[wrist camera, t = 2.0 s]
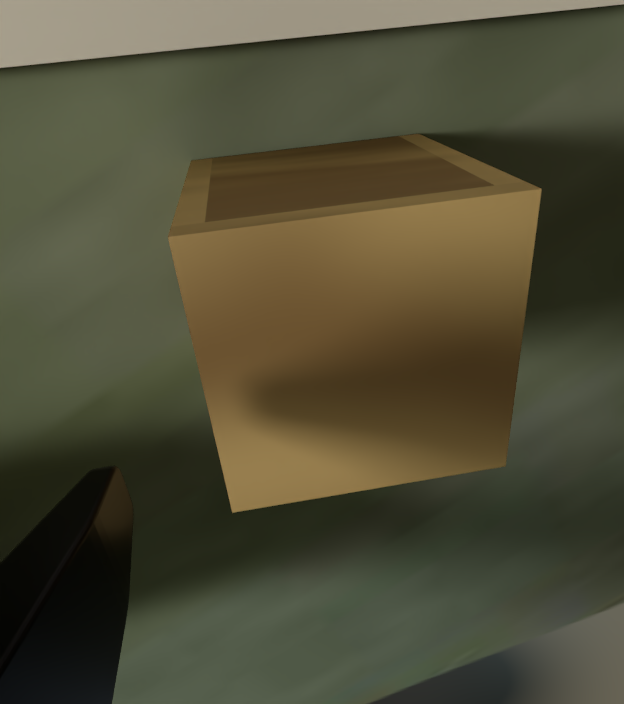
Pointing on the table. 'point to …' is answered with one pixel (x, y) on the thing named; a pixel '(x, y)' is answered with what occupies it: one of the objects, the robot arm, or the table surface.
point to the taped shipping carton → (354, 313)
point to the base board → (220, 22)
